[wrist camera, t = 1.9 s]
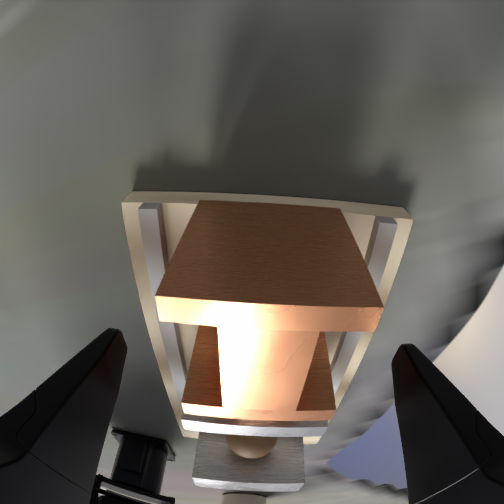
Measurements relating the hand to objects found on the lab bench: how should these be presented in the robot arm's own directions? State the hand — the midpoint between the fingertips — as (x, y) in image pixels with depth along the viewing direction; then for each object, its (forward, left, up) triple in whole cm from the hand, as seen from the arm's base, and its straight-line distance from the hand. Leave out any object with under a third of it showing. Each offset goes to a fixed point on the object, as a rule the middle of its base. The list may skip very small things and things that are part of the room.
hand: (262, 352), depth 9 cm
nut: (-13, 0, -5) cm, 14 cm away
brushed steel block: (-17, 0, -5) cm, 18 cm away
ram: (-2, 0, -4) cm, 5 cm away
